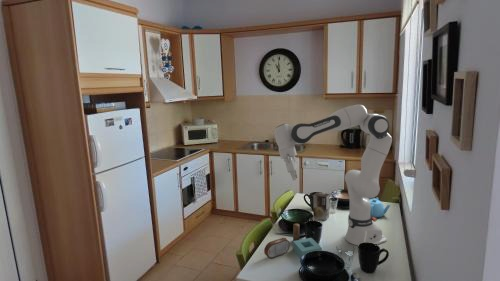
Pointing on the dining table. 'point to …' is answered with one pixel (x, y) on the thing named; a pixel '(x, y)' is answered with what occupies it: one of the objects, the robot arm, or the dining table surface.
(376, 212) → the teapot
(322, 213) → the coffee box
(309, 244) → the teal square-hole block
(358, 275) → the dining table surface
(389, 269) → the dining table surface
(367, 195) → the robot arm
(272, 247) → the tin
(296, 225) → the walnut dowel
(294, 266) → the dining table surface
